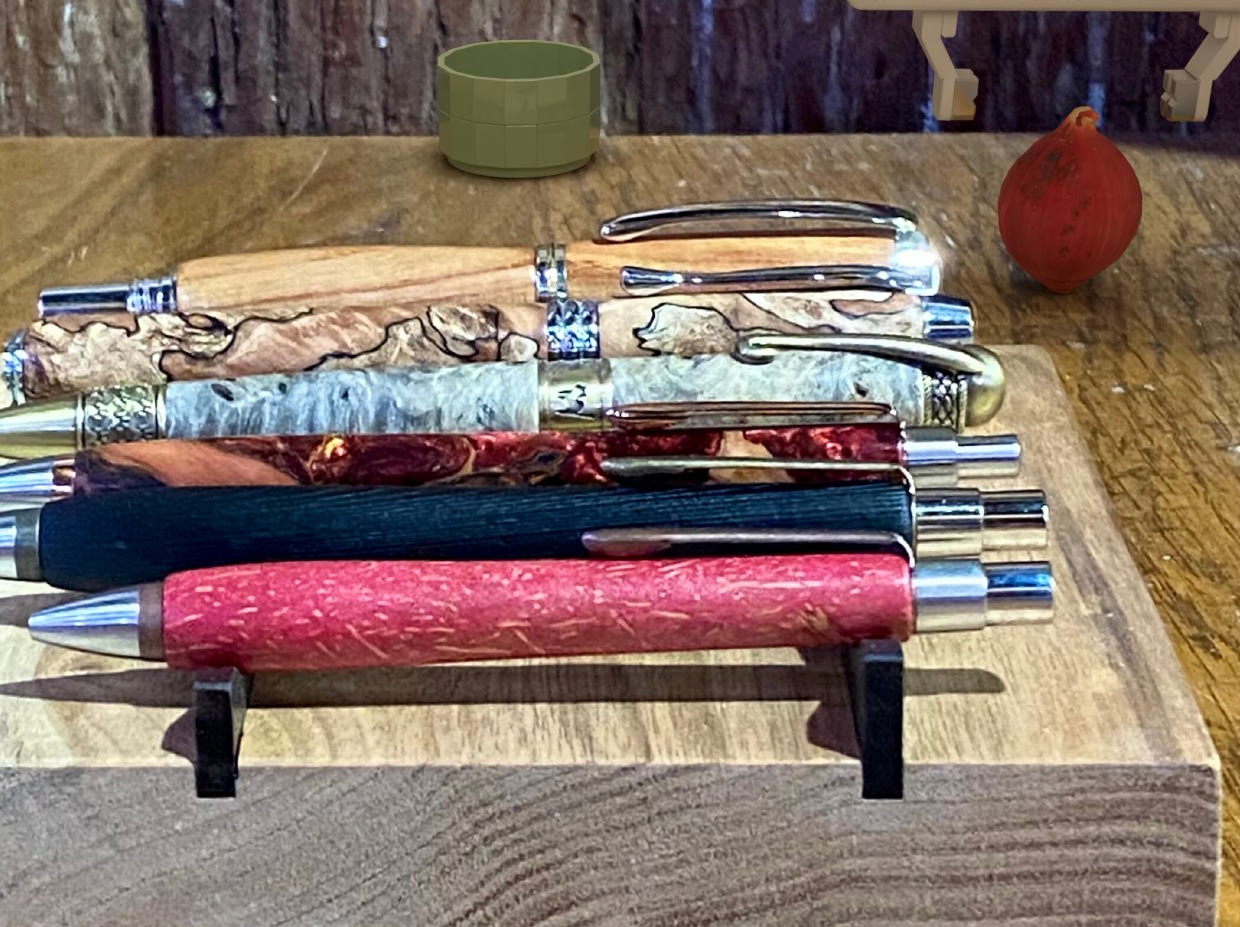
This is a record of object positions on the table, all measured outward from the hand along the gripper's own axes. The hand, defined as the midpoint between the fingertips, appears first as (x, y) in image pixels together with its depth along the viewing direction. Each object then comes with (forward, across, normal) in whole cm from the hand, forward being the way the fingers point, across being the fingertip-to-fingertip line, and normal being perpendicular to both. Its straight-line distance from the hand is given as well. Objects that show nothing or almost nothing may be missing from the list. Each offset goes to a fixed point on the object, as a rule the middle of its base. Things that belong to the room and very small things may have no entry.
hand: (1067, 118), depth 93 cm
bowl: (+8, +22, -21) cm, 32 cm away
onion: (+8, -1, 0) cm, 8 cm away
